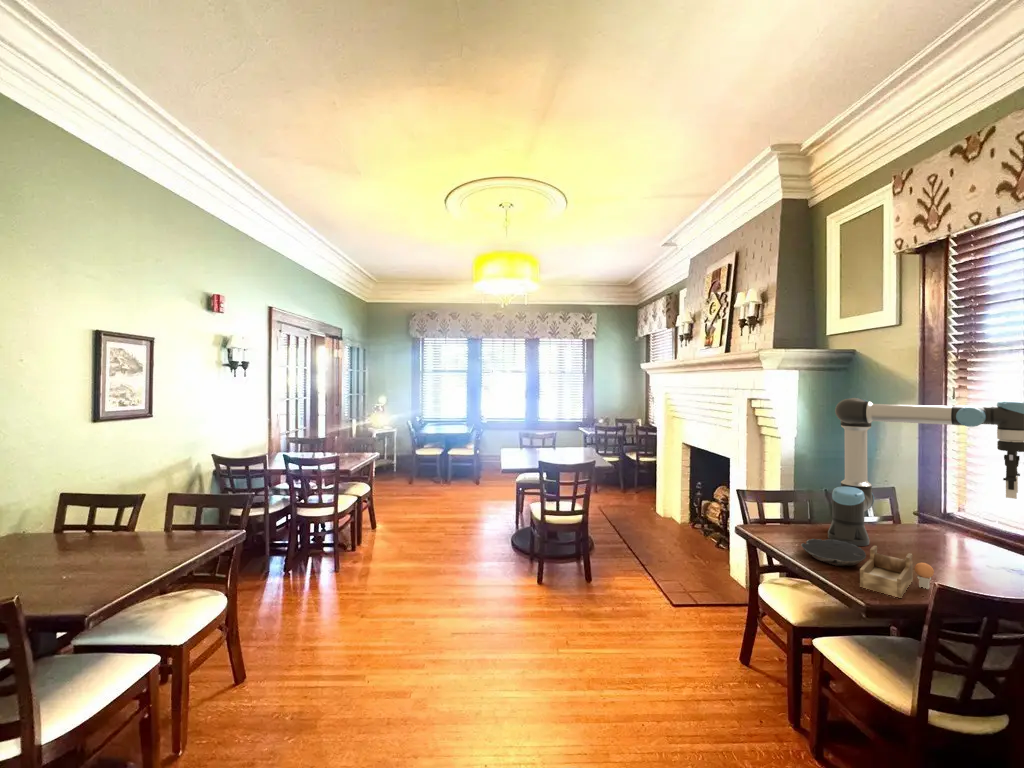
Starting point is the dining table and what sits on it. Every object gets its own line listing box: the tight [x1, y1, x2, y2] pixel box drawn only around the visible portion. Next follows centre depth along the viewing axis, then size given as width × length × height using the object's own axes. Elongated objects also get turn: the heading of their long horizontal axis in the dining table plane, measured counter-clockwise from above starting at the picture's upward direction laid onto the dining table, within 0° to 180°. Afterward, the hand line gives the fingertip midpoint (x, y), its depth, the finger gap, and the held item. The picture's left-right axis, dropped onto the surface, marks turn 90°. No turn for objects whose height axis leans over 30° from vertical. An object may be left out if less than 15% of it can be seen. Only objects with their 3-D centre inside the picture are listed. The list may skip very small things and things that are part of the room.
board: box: [801, 538, 867, 567], centre depth 179 cm, size 22×22×5 cm
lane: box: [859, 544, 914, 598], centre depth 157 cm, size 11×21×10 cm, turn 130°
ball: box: [914, 562, 935, 578], centre depth 155 cm, size 5×5×5 cm
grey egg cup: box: [916, 574, 932, 590], centre depth 155 cm, size 3×3×4 cm
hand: (1011, 495), depth 171 cm, fingers open, 13 cm apart
